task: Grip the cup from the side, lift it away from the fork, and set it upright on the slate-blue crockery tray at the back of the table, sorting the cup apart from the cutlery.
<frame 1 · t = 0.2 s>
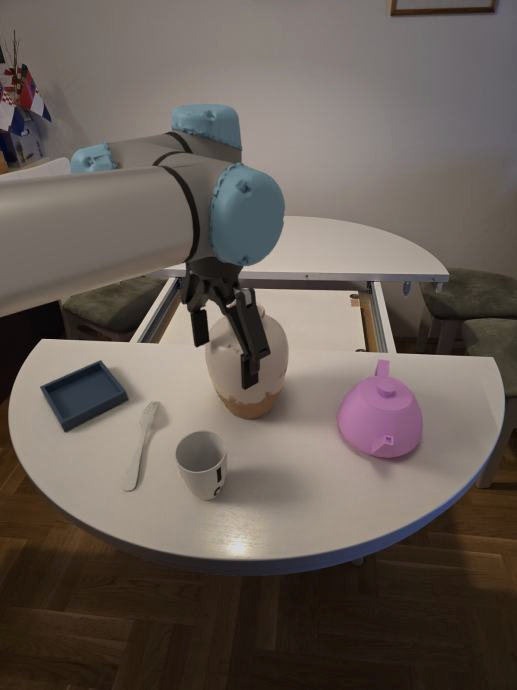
hand: (224, 363, 66), 18 cm above the table, tool pointing down, fingers open, 13 cm apart
tray: (85, 397, 87), on the table
fork: (143, 442, 77), on the table
cup: (207, 487, 69), on the table
vase: (249, 402, 85), on the table
teapot: (376, 430, 78), on the table
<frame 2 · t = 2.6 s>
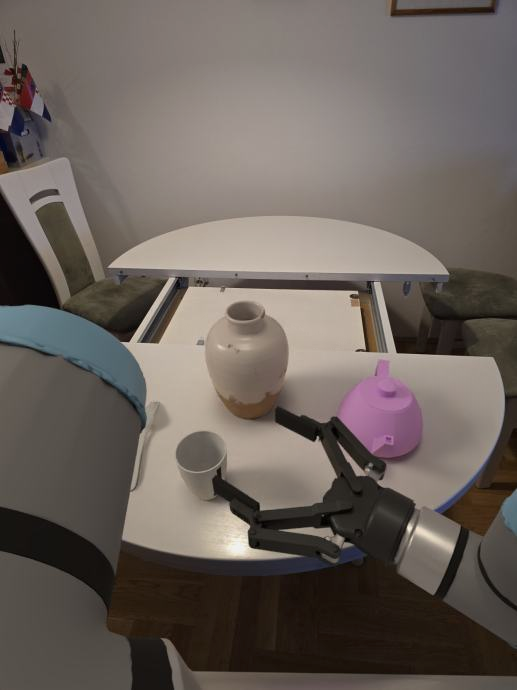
hand: (247, 445, 53), 18 cm above the table, tool horizontal, fingers open, 13 cm apart
nothing on the table moved.
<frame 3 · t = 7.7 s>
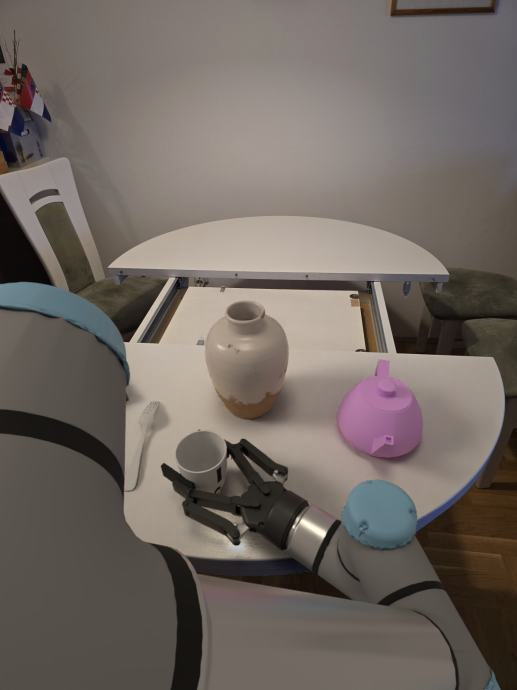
hand: (181, 451, 68), 6 cm above the table, tool horizontal, fingers closed on cup, 8 cm apart
cup: (207, 487, 69), on the table, touching gripper
everything else where it was.
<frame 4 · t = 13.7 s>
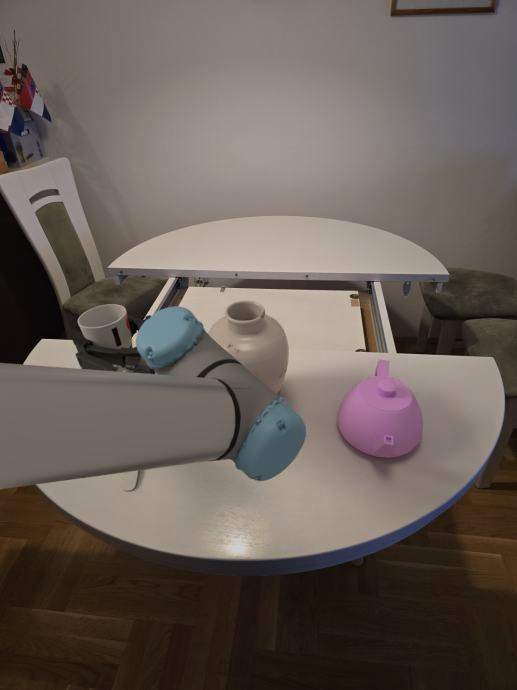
hand: (94, 326, 74), 19 cm above the table, tool horizontal, fingers closed on cup, 8 cm apart
cup: (118, 362, 75), point 13 cm above the table, touching gripper
everything else where it was.
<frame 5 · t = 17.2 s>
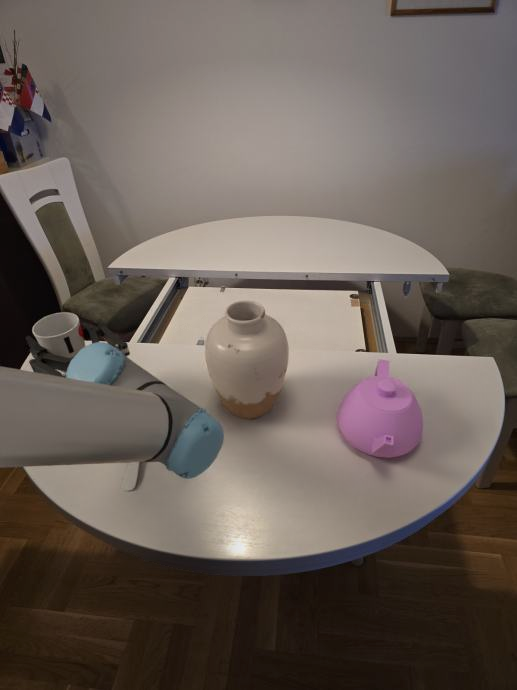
hand: (50, 332, 80), 15 cm above the table, tool horizontal, fingers closed on cup, 8 cm apart
cup: (72, 365, 81), point 9 cm above the table, touching gripper
everything else where it was.
when the fingers open (7 cm above the table, at t = 20.0 s): cup stays where it is, resting on tray.
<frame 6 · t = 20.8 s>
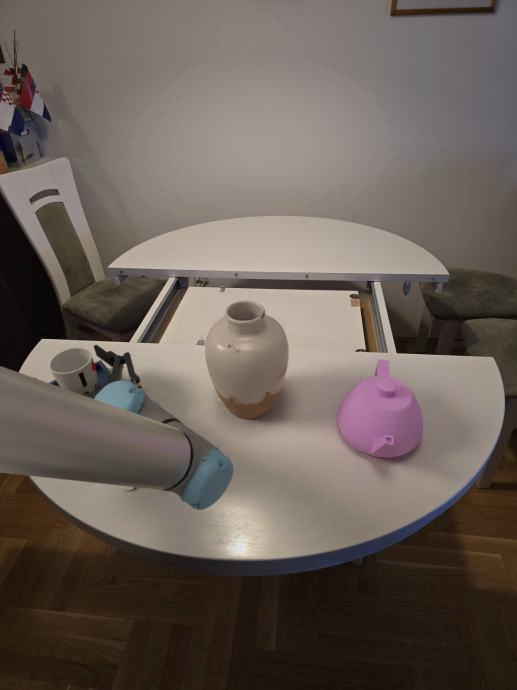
hand: (67, 365, 84), 7 cm above the table, tool horizontal, fingers open, 13 cm apart
cup: (85, 396, 87), resting on tray
everything else where it was.
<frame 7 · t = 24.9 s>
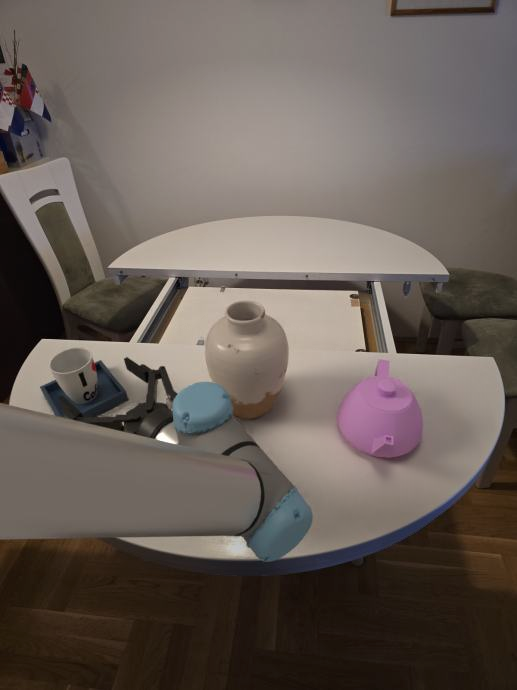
hand: (96, 381, 76), 10 cm above the table, tool horizontal, fingers open, 13 cm apart
nothing on the table moved.
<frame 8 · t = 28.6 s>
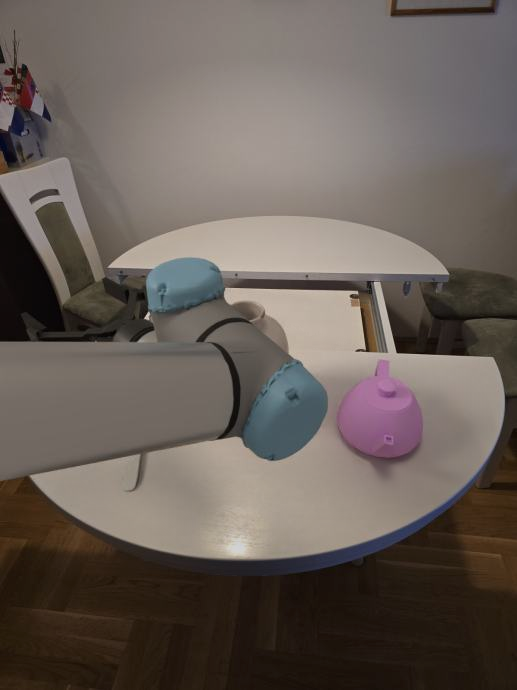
hand: (68, 301, 65), 28 cm above the table, tool horizontal, fingers open, 13 cm apart
nothing on the table moved.
at the end: cup inside the target area in the tray (0.0 cm from its centre), point 0.4 cm above the tray's base; cup tilted 0°; the gripper is holding nothing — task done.
